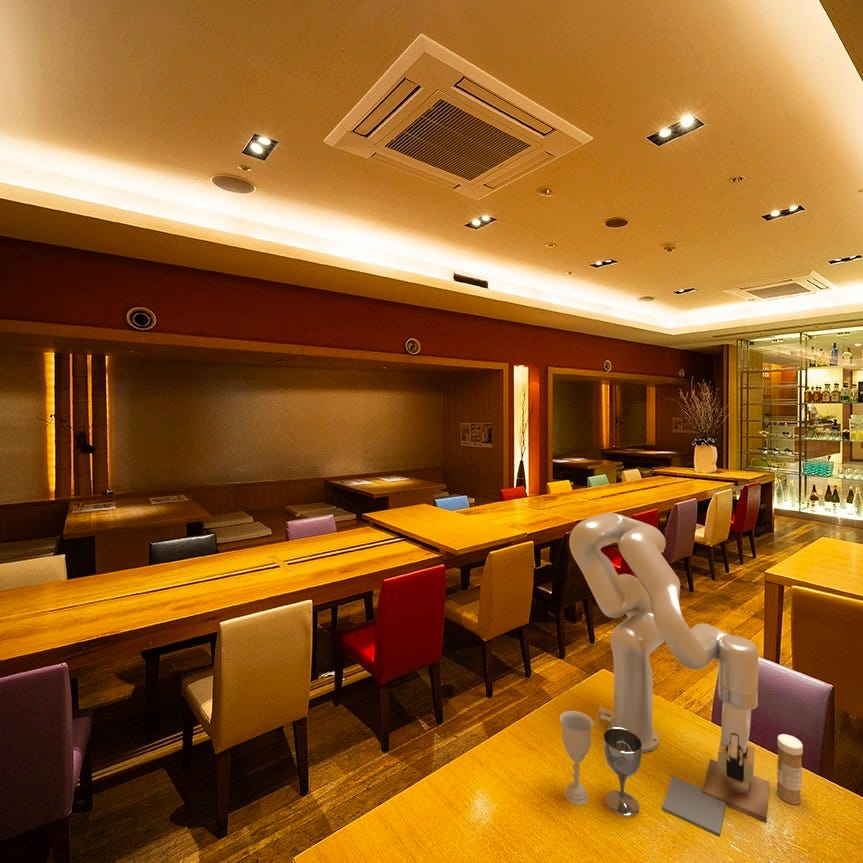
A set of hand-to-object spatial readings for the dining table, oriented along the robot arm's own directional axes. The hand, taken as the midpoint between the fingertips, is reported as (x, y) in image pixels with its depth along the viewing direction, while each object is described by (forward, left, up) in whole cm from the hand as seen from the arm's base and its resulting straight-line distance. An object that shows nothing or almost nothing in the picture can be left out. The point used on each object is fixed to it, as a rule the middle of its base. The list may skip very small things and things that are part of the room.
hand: (736, 767), depth 109 cm
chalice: (-29, -23, -6) cm, 37 cm away
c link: (0, 0, 0) cm, 0 cm away
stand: (0, 0, -6) cm, 6 cm away
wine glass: (-20, -19, -6) cm, 28 cm away
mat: (-7, -10, -6) cm, 13 cm away
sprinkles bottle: (+10, +5, -6) cm, 12 cm away
